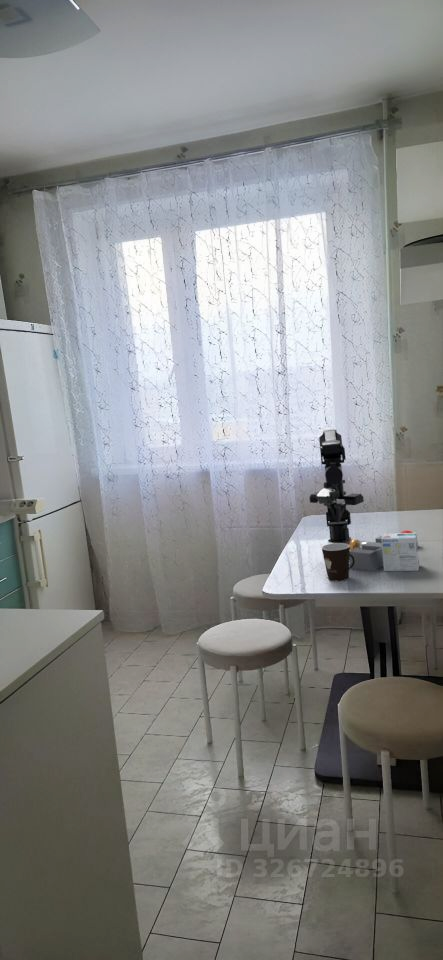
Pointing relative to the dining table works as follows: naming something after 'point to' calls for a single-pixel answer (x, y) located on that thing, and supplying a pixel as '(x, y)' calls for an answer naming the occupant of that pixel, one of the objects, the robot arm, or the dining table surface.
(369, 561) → the mount
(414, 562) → the light bulb box
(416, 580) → the dining table surface
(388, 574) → the dining table surface
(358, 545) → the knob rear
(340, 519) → the robot arm
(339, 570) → the coffee mug
